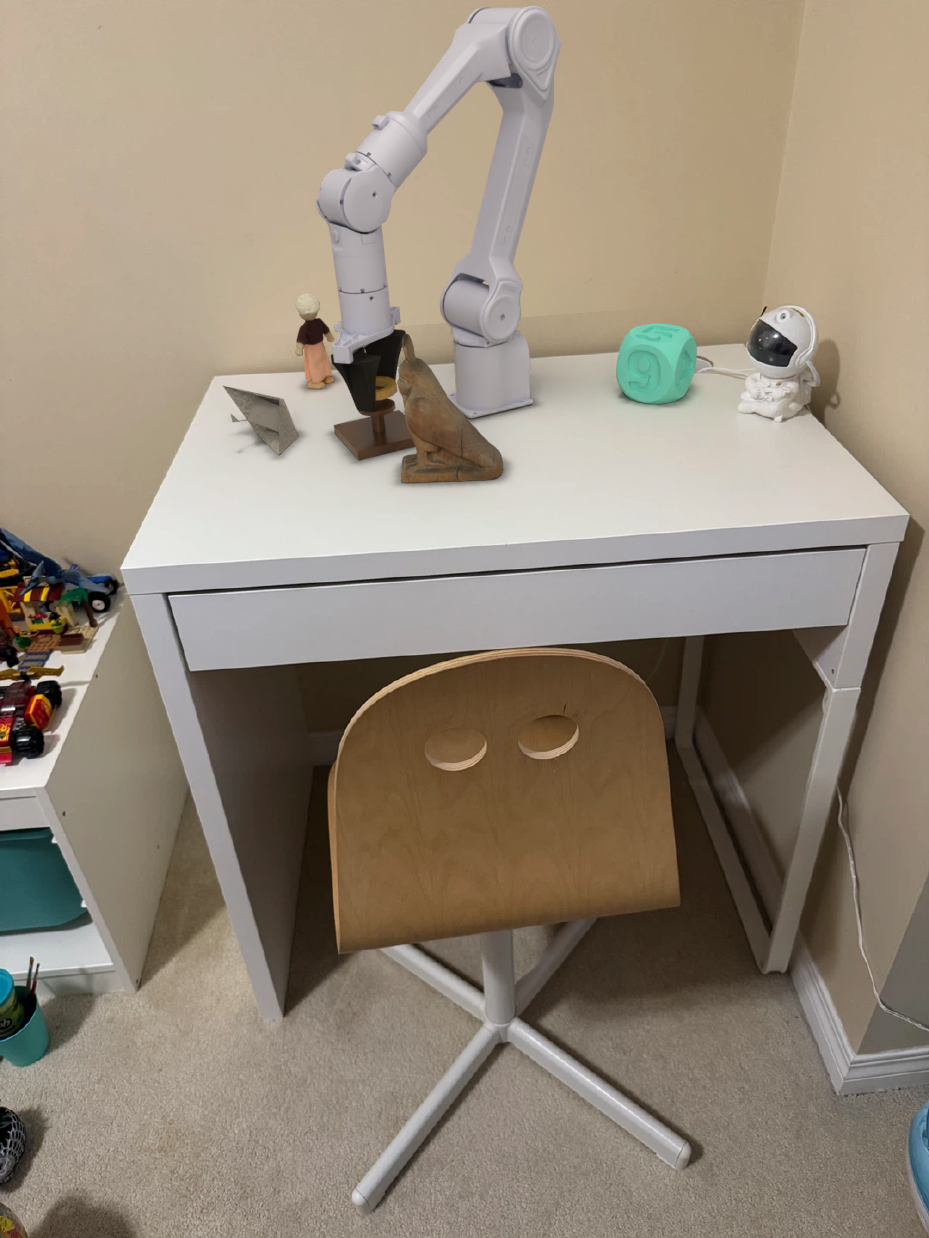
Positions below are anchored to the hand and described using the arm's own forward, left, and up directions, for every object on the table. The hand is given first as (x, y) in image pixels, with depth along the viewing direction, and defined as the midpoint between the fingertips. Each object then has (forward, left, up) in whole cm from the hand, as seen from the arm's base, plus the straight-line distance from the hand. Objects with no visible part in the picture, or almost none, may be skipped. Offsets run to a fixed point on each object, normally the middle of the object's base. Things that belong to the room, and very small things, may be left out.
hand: (376, 400), depth 110 cm
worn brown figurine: (-4, +13, -5) cm, 15 cm away
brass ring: (0, 0, +1) cm, 1 cm away
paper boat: (+13, -8, -5) cm, 16 cm away
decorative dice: (-37, +6, -5) cm, 38 cm away
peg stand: (0, 0, -5) cm, 5 cm away
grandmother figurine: (+1, -22, -5) cm, 23 cm away
